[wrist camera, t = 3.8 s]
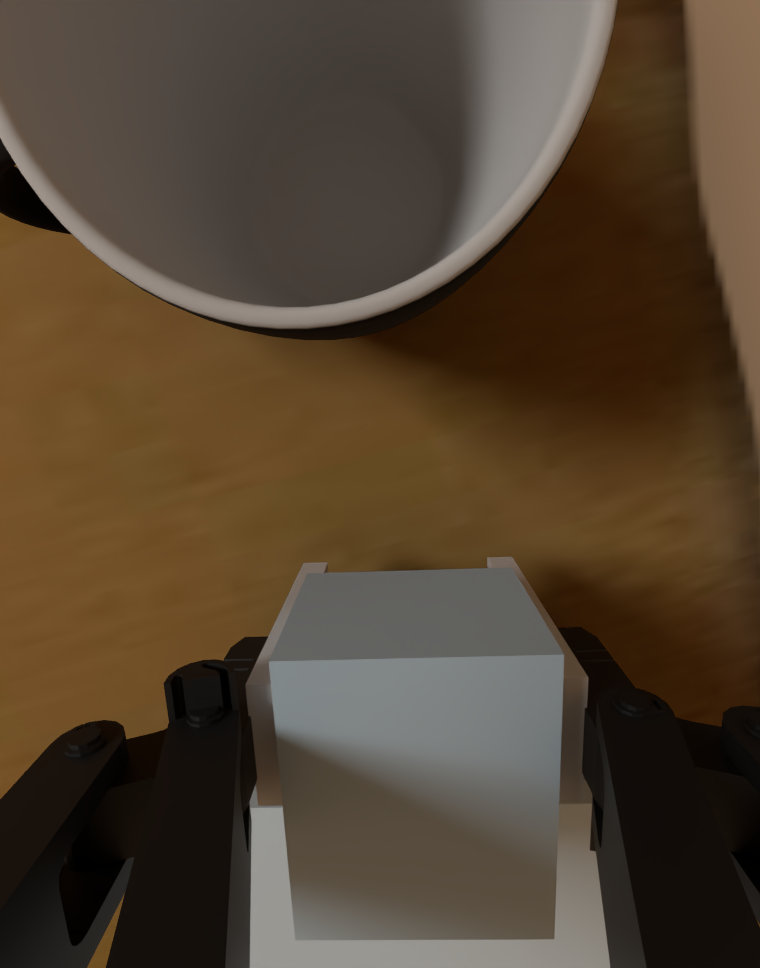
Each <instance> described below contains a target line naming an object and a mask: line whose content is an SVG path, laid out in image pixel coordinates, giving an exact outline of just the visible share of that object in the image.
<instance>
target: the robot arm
mask: <svg viewBox="0 0 760 968" xmlns="http://www.w3.org/2000/svg"><path fill="white" fill-rule="evenodd" d="M487 568H513V570H514V572H515V573H516V575H517V577H518V578H519V580H520V582H521V583H522V585H523V587H524V588H525V590H526V592H527V593H528V595H529V597H530V598H531V600H532V602H533V603H534V605H535V607H536V608H537V610H538V612H539V613H540V615H541V617H542V618H543V620H544V622H545V623H546V625H547V627H548V628H549V630H550V632H551V633H552V635H553V637H554V638H555V640H556V642H557V643H558V645H559V647H560V648H561V650H562V652H563V653H564V677H563V706H562V735H561V764H560V793H559V802H571V801H583V786H584V778H585V780H586V782H587V784H588V786H589V788H590V790H591V793H592V815H591V835H590V851H595V852H596V857H597V865H598V873H599V881H600V889H601V897H602V905H603V913H604V921H605V929H606V937H607V945H608V953H609V961H610V968H760V927H759V925H758V922H759V923H760V707H751V706H738V707H731V708H729V709H728V710H726V711H725V712H724V713H723V720H722V727H719V726H713V725H708V724H702V723H697V722H691V721H687V720H683V719H679V718H676V717H675V715H674V713H673V711H672V709H671V708H670V707H669V705H668V704H667V703H666V702H665V701H663V700H662V699H660V698H659V697H658V696H656V695H654V694H651V693H649V692H647V691H644V690H641V689H637V688H635V687H634V685H633V684H632V683H631V681H630V680H629V679H628V678H627V676H626V675H625V674H624V672H623V671H622V670H621V668H620V667H619V666H618V664H617V663H616V662H615V661H613V658H612V656H611V655H610V654H609V653H608V651H606V649H605V647H604V646H603V645H602V643H601V642H600V641H599V639H598V638H597V637H596V636H594V635H593V634H591V633H589V632H588V631H586V630H584V629H583V628H581V627H573V628H557V627H556V626H555V624H554V622H553V621H552V619H551V618H550V616H549V614H548V613H547V611H546V610H545V608H544V607H543V605H542V603H541V602H540V600H539V599H538V597H537V596H536V594H535V592H534V591H533V589H532V588H531V586H530V584H529V583H528V581H527V580H526V578H525V577H524V575H523V573H522V572H521V570H520V569H519V567H518V565H517V564H516V562H515V561H514V559H513V558H512V557H489V558H487ZM307 573H328V563H327V562H322V563H303V565H302V567H301V569H300V571H299V574H298V576H297V578H296V580H295V582H294V584H293V586H292V588H291V590H290V592H289V594H288V597H287V599H286V601H285V603H284V605H283V607H282V609H281V611H280V613H279V615H278V618H277V620H276V622H275V624H274V626H273V628H272V630H271V632H270V634H269V636H268V637H244V638H243V639H242V640H240V641H239V642H238V643H236V644H235V645H234V646H232V647H231V648H230V650H229V652H228V653H227V655H226V657H225V658H224V661H221V660H202V661H198V662H194V663H190V664H188V665H185V666H183V667H181V668H179V669H177V670H176V671H174V672H173V673H172V674H170V675H169V676H168V678H167V679H166V681H165V682H164V689H165V696H166V703H167V710H168V717H169V724H168V728H167V729H165V730H162V731H159V732H155V733H152V734H148V735H143V736H139V737H135V738H130V739H126V736H125V731H124V727H123V726H122V725H121V724H119V723H118V722H116V721H108V720H102V721H95V722H89V723H85V724H84V725H83V724H82V725H80V726H77V727H75V728H73V729H72V730H70V731H68V732H66V733H64V734H62V735H61V736H60V737H59V738H57V739H56V740H55V741H54V742H53V743H51V744H50V745H49V746H48V748H47V749H46V750H45V751H44V752H43V753H42V754H41V755H40V756H39V758H38V759H37V760H36V761H35V762H34V763H33V764H32V765H31V766H30V767H29V769H28V770H27V771H26V772H25V773H24V774H23V775H22V776H21V777H20V778H19V780H18V781H17V782H16V783H15V784H14V785H13V786H12V787H11V788H10V790H9V791H8V792H7V793H6V794H5V795H4V796H3V797H2V798H1V799H0V968H87V966H88V964H89V962H90V960H91V958H92V956H93V954H94V952H95V950H96V948H97V946H98V944H99V942H100V941H101V939H102V937H103V935H104V933H105V931H106V929H107V927H108V925H109V923H110V921H111V919H112V917H113V915H114V913H115V911H116V909H117V907H118V905H119V903H120V901H121V899H122V897H123V895H124V893H125V895H124V899H123V903H122V907H121V911H120V915H119V919H118V923H117V927H116V930H115V934H114V938H113V942H112V946H111V950H110V954H109V958H108V962H107V965H106V968H250V908H251V833H252V820H251V811H250V799H251V796H252V793H253V790H254V787H255V784H256V791H257V800H258V806H270V805H282V796H281V785H280V774H279V764H278V753H277V743H276V732H275V722H274V711H273V701H272V690H271V680H270V669H269V660H270V658H271V655H272V653H273V651H274V648H275V646H276V644H277V641H278V639H279V637H280V635H281V632H282V630H283V628H284V625H285V623H286V621H287V618H288V616H289V614H290V612H291V609H292V607H293V605H294V602H295V600H296V598H297V595H298V593H299V591H300V589H301V586H302V584H303V582H304V579H305V577H306V575H307ZM125 891H126V892H125ZM756 919H757V920H758V922H757V920H756Z"/></svg>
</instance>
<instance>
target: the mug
mask: <svg viewBox="0 0 760 968" xmlns="http://www.w3.org/2000/svg"><path fill="white" fill-rule="evenodd" d="M617 5H618V0H0V213H2V214H4V215H6V216H8V217H10V218H12V219H15V220H17V221H19V222H22V223H25V224H28V225H31V226H35V227H38V228H42V229H46V230H50V231H56V232H61V233H67V234H72V235H73V236H74V237H75V238H76V239H77V240H79V241H80V242H81V243H82V244H83V245H84V246H85V247H86V248H87V249H88V250H89V251H91V252H92V253H93V254H94V255H95V256H97V257H98V258H99V259H100V260H102V261H103V262H104V263H105V264H107V265H108V266H109V267H110V268H112V269H113V270H114V271H116V272H117V273H118V274H120V275H121V276H123V277H124V278H126V279H127V280H129V281H130V282H132V283H133V284H135V285H136V286H138V287H139V288H141V289H142V290H144V291H146V292H148V293H150V294H152V295H153V296H155V297H157V298H159V299H161V300H163V301H165V302H167V303H168V304H170V305H173V306H175V307H177V308H180V309H182V310H185V311H187V312H189V313H192V314H194V315H197V316H199V317H201V318H204V319H207V320H209V321H213V322H216V323H219V324H223V325H226V326H229V327H232V328H236V329H239V330H243V331H248V332H253V333H258V334H263V335H268V336H273V337H282V338H292V339H302V340H335V339H344V338H354V337H358V336H363V335H368V334H373V333H376V332H379V331H382V330H385V329H389V328H392V327H394V326H396V325H399V324H401V323H403V322H406V321H408V320H410V319H412V318H414V317H416V316H418V315H419V314H421V313H423V312H425V311H427V310H428V309H430V308H432V307H433V306H435V305H436V304H438V303H439V302H441V301H442V300H443V299H445V298H446V297H448V296H449V295H451V294H452V293H453V292H455V291H456V290H457V289H458V288H459V287H461V286H462V285H463V284H464V283H465V282H466V281H468V280H469V279H470V278H471V277H472V276H474V275H475V274H476V273H477V272H478V271H479V270H480V269H481V268H483V267H484V266H485V264H486V263H487V262H488V261H489V260H490V259H491V258H492V257H493V256H494V255H495V254H496V253H497V252H498V251H499V250H500V249H501V248H502V247H503V246H504V245H505V244H506V243H507V242H508V241H509V239H510V238H511V237H512V236H513V234H514V233H515V232H516V231H517V230H518V228H519V227H520V226H521V225H522V223H523V222H524V221H525V220H526V218H527V217H528V216H529V215H530V213H531V212H532V211H533V209H534V208H535V207H536V205H537V204H538V202H539V201H540V199H541V198H542V196H543V195H544V193H545V192H546V190H547V189H548V187H549V186H550V184H551V183H552V181H553V180H554V178H555V177H556V175H557V174H558V172H559V170H560V168H561V166H562V165H563V163H564V161H565V159H566V157H567V155H568V154H569V152H570V150H571V148H572V146H573V144H574V143H575V141H576V138H577V136H578V134H579V131H580V129H581V127H582V125H583V122H584V120H585V118H586V116H587V113H588V111H589V109H590V106H591V103H592V100H593V97H594V95H595V92H596V89H597V86H598V83H599V80H600V77H601V74H602V71H603V68H604V65H605V61H606V57H607V53H608V49H609V45H610V41H611V37H612V33H613V29H614V23H615V17H616V11H617ZM14 165H17V167H18V168H16V167H15V166H14Z"/></svg>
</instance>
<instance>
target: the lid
mask: <svg viewBox="0 0 760 968" xmlns="http://www.w3.org/2000/svg"><path fill="white" fill-rule="evenodd" d="M269 669H270V680H271V690H272V701H273V711H274V722H275V732H276V743H277V753H278V764H279V774H280V785H281V796H282V805H270V806H258V800H257V791H256V784H255V787H254V790H253V793H252V796H251V799H250V811H251V820H252V833H251V908H250V968H610V961H609V953H608V945H607V937H606V929H605V921H604V913H603V905H602V897H601V889H600V881H599V873H598V865H597V857H596V852H595V851H590V835H591V815H592V793H591V790H590V788H589V786H588V784H587V782H586V780H585V779H584V786H583V801H571V802H559V793H560V764H561V735H562V706H563V677H564V653H563V652H562V650H561V648H560V647H559V645H558V643H557V642H556V640H555V638H554V637H553V635H552V633H551V632H550V630H549V628H548V627H547V625H546V623H545V622H544V620H543V618H542V617H541V615H540V613H539V612H538V610H537V608H536V607H535V605H534V603H533V602H532V600H531V598H530V597H529V595H528V593H527V592H526V590H525V588H524V587H523V585H522V583H521V582H520V580H519V578H518V577H517V575H516V573H515V572H514V570H513V568H478V569H443V570H409V571H375V572H341V573H307V575H306V577H305V579H304V582H303V584H302V586H301V589H300V591H299V593H298V595H297V598H296V600H295V602H294V605H293V607H292V609H291V612H290V614H289V616H288V618H287V621H286V623H285V625H284V628H283V630H282V632H281V635H280V637H279V639H278V641H277V644H276V646H275V648H274V651H273V653H272V655H271V658H270V660H269Z"/></svg>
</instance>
